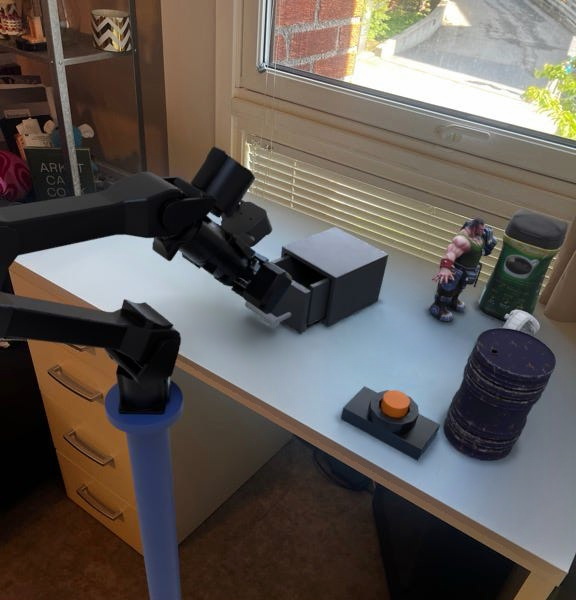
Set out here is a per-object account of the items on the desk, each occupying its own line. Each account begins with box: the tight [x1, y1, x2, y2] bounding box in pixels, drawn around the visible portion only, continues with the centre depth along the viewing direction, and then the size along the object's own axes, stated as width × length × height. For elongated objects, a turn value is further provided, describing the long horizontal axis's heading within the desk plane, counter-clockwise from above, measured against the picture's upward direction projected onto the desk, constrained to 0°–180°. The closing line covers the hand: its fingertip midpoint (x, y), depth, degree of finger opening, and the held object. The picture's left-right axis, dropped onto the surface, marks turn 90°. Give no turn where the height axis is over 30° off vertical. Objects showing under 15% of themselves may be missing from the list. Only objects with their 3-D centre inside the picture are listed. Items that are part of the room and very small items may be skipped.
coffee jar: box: [478, 208, 569, 322], centre depth 97 cm, size 10×8×19 cm
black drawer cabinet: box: [280, 226, 389, 328], centre depth 98 cm, size 14×13×10 cm
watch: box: [502, 310, 541, 336], centre depth 85 cm, size 6×8×11 cm
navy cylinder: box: [442, 327, 557, 462], centre depth 73 cm, size 10×10×15 cm
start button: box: [381, 389, 410, 418], centre depth 74 cm, size 4×4×2 cm
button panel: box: [340, 386, 441, 461], centre depth 76 cm, size 12×6×4 cm, turn 55°
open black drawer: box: [244, 255, 332, 335], centre depth 93 cm, size 17×11×8 cm
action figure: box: [428, 217, 498, 323], centre depth 96 cm, size 20×7×18 cm, turn 139°
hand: (262, 288), depth 86 cm, fingers closed
